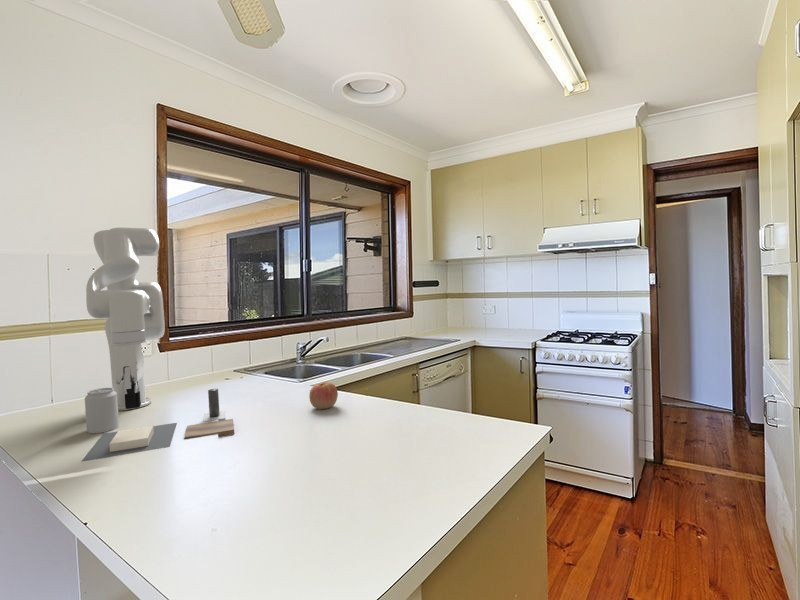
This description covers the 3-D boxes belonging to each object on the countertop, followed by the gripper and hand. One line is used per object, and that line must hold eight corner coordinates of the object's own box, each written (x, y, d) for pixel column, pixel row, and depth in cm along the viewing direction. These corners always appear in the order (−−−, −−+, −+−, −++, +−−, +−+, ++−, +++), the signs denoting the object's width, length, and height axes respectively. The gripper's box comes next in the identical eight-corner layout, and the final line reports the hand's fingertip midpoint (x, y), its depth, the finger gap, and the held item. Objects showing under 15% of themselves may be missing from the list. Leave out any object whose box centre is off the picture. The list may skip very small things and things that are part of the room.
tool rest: (187, 429, 118) (187, 425, 118) (233, 422, 123) (232, 418, 123) (184, 442, 109) (184, 437, 109) (234, 433, 114) (234, 429, 113)
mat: (103, 436, 115) (103, 433, 115) (177, 425, 122) (177, 422, 122) (81, 464, 97) (81, 461, 97) (169, 449, 104) (169, 446, 104)
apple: (342, 408, 133) (341, 383, 133) (316, 414, 128) (315, 388, 128) (330, 402, 140) (329, 378, 140) (305, 407, 135) (304, 383, 135)
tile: (118, 430, 110) (109, 443, 101) (153, 425, 114) (147, 437, 104) (118, 438, 111) (109, 452, 101) (153, 433, 114) (148, 446, 105)
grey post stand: (204, 417, 130) (202, 388, 129) (225, 413, 132) (223, 385, 132) (203, 424, 122) (201, 394, 122) (225, 421, 125) (224, 391, 124)
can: (102, 436, 115) (99, 393, 114) (80, 435, 116) (77, 393, 116) (125, 427, 122) (123, 386, 122) (104, 426, 124) (101, 386, 123)
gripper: (117, 336, 115) (122, 402, 115) (104, 342, 101) (109, 417, 102) (149, 333, 118) (153, 398, 118) (140, 339, 104) (145, 413, 105)
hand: (133, 407), depth 110 cm, fingers closed
